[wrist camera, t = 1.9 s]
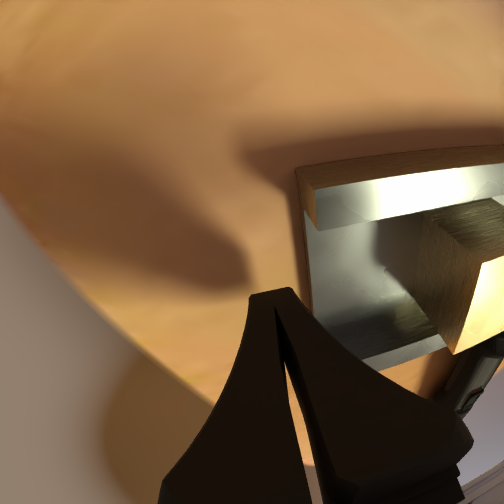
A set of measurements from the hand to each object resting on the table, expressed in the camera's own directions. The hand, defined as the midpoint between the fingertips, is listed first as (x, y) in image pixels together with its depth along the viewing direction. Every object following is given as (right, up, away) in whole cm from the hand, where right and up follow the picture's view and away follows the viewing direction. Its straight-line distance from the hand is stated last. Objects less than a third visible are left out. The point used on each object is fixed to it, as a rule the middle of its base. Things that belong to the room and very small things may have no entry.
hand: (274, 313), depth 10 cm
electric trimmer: (+13, -6, +7) cm, 16 cm away
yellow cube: (+8, +2, +1) cm, 8 cm away
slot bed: (+7, +2, +1) cm, 8 cm away
